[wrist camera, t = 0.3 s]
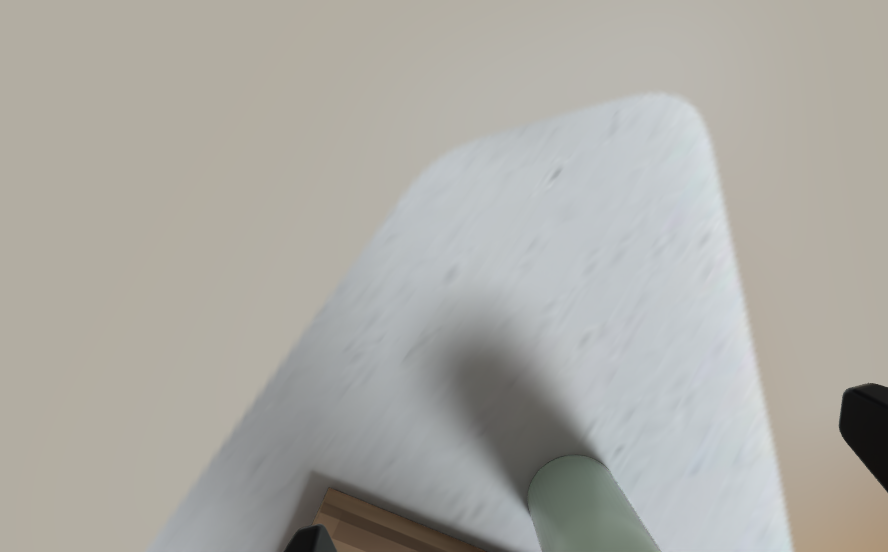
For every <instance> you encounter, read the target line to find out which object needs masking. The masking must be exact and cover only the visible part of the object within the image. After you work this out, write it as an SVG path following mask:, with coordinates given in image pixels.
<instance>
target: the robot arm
mask: <svg viewBox="0 0 888 552" xmlns="http://www.w3.org/2000/svg"><path fill="white" fill-rule="evenodd" d="M839 430H840V432H841V434H842V437H843V438H844V440H845V441H846V443H847V444H848V445H849V446H850V447H851V449H852V450H853V451H854V452H855V454H856V455H857V456H858V457H859V458H860V460H861V461H862V462H863V463H864V464H865V466H866V467H867V468H868V469H869V470H870V472H871V473H872V474H873V475H874V477H875V478H876V479H877V480H878V482H879V483H880V484H881V485H882V486H883V488H884V489H885V490H886V491H887V492H888V387H885V386H882V385H878V384H874V383H868V384H863V385H859V386H855V387H852V388H848V389H846V390H845V392H844V393H843V397H842V404H841V412H840V419H839ZM284 552H337V549H336V547H335V545H334V543H333V541H332V539H331V537H330V535H329V533H328V531H327V529H326V527H325V526H324V525H323V524H315V525H311V526H307V527H304V528H301V529H299V530H298V531H297V532H296V533H295V535H294V536H293V538H292V539H291V541H290V543H289V544H288V546H287V547H286V549H285V550H284Z"/></svg>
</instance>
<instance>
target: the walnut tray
mask: <svg viewBox="0 0 888 552" xmlns="http://www.w3.org/2000/svg"><path fill="white" fill-rule="evenodd" d="M315 524H323V525H324V526H325V527H326V529H327V531H328V533H329V535H330V537H331V539H332V541H333V543H334V545H335V547H336V549H337V552H487V551H485V550H482V549H480V548H477V547H475V546H472V545H470V544H467V543H465V542H462V541H460V540H457V539H455V538H453V537H450V536H448V535H445V534H443V533H440V532H438V531H435V530H433V529H430V528H428V527H425V526H423V525H421V524H418V523H416V522H413V521H411V520H408V519H406V518H403V517H401V516H398V515H396V514H393V513H391V512H388V511H386V510H384V509H381V508H379V507H376V506H374V505H371V504H369V503H366V502H364V501H361V500H359V499H356V498H354V497H351V496H349V495H347V494H344V493H342V492H339V491H337V490H334V489H332V488H328V490H327V493H326V495H325V497H324V499H323V501H322V504H321V506H320V508H319V510H318V512H317V515H316V517H315V519H314V521H313V523H312V525H315Z"/></svg>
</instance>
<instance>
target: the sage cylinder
mask: <svg viewBox="0 0 888 552" xmlns="http://www.w3.org/2000/svg"><path fill="white" fill-rule="evenodd" d="M528 507H529V511H530V514H531V517H532V521H533V524H534V527H535V531H536V534H537V537H538V540H539V544H540V547H541V550H542V552H661V550H660V549H659V547H658V546H657V544H656V543H655V541H654V539H653V538H652V536H651V535H650V533H649V532H648V530H647V529H646V527H645V525H644V524H643V522H642V521H641V519H640V518H639V516H638V515H637V513H636V511H635V510H634V508H633V507H632V505H631V504H630V502H629V501H628V499H627V497H626V496H625V494H624V493H623V491H622V490H621V488H620V487H619V485H618V484H617V482H616V480H615V479H614V477H613V476H612V474H611V473H610V471H609V470H608V469H607V468H606V467H605V466H604V465H603V464H601V463H600V462H598V461H596V460H594V459H592V458H589V457H586V456H580V455H569V456H563V457H560V458H557V459H555V460H552V461H551V462H549V463H547V464H546V465H545V466H543V467H542V468H541V469H540V470H539V471H538V472H537V474H536V475H535V476H534V478H533V480H532V482H531V484H530V487H529V490H528Z"/></svg>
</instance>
